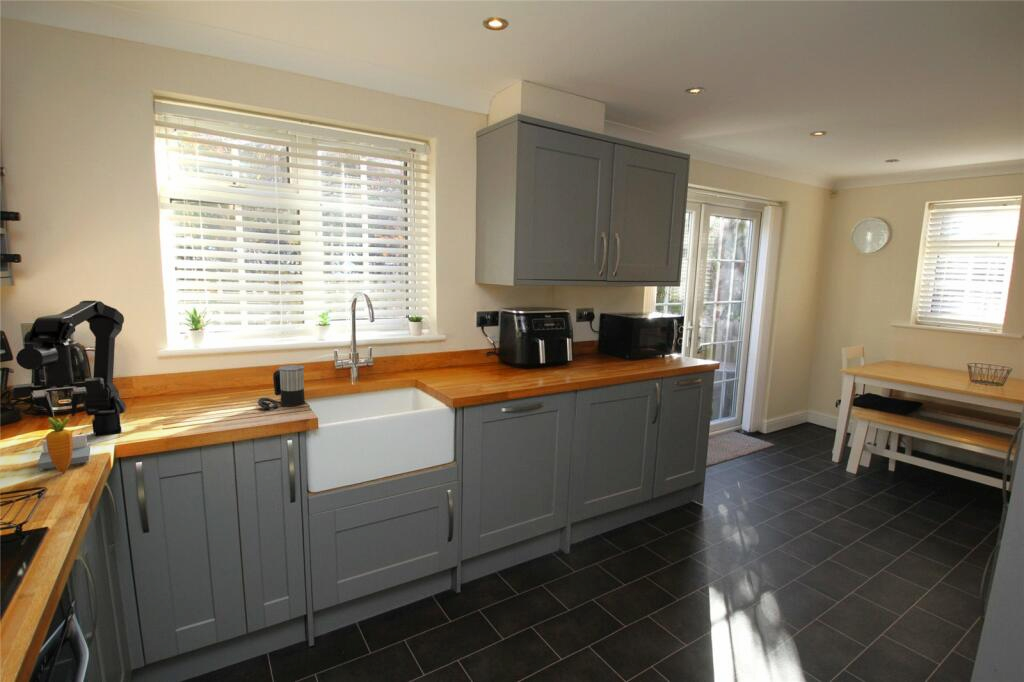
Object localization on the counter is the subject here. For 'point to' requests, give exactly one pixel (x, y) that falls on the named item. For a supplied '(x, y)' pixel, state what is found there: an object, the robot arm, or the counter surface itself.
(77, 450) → the grey and white block
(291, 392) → the milk frother
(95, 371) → the robot arm
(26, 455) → the counter surface
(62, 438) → the carrot
